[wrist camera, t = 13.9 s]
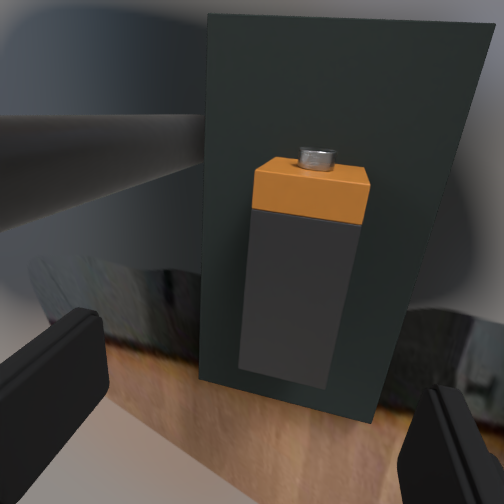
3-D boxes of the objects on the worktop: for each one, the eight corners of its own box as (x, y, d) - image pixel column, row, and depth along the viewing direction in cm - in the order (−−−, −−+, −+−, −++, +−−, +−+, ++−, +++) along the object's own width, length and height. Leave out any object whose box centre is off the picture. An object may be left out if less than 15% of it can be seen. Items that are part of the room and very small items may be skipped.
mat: (204, 368, 25) (198, 379, 24) (216, 19, 17) (207, 12, 15) (370, 410, 23) (371, 424, 22) (485, 29, 14) (497, 23, 13)
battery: (257, 321, 21) (237, 368, 17) (276, 140, 17) (256, 148, 13) (328, 336, 20) (325, 390, 16) (368, 150, 16) (375, 161, 12)
